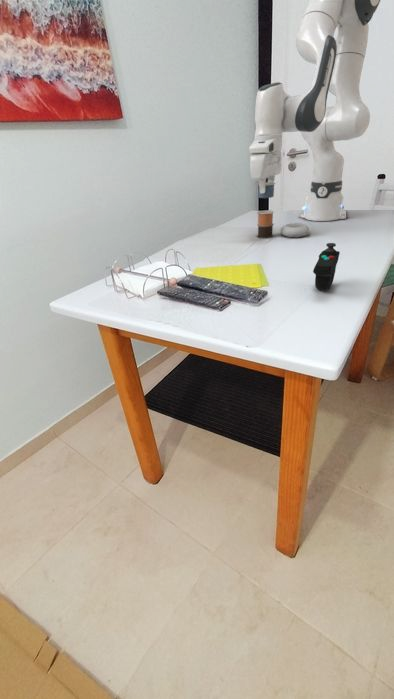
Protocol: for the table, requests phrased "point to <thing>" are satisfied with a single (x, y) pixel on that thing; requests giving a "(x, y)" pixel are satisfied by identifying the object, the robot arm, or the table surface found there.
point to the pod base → (265, 231)
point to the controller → (326, 267)
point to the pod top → (267, 190)
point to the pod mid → (265, 217)
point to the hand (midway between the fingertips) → (266, 191)
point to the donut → (295, 230)
